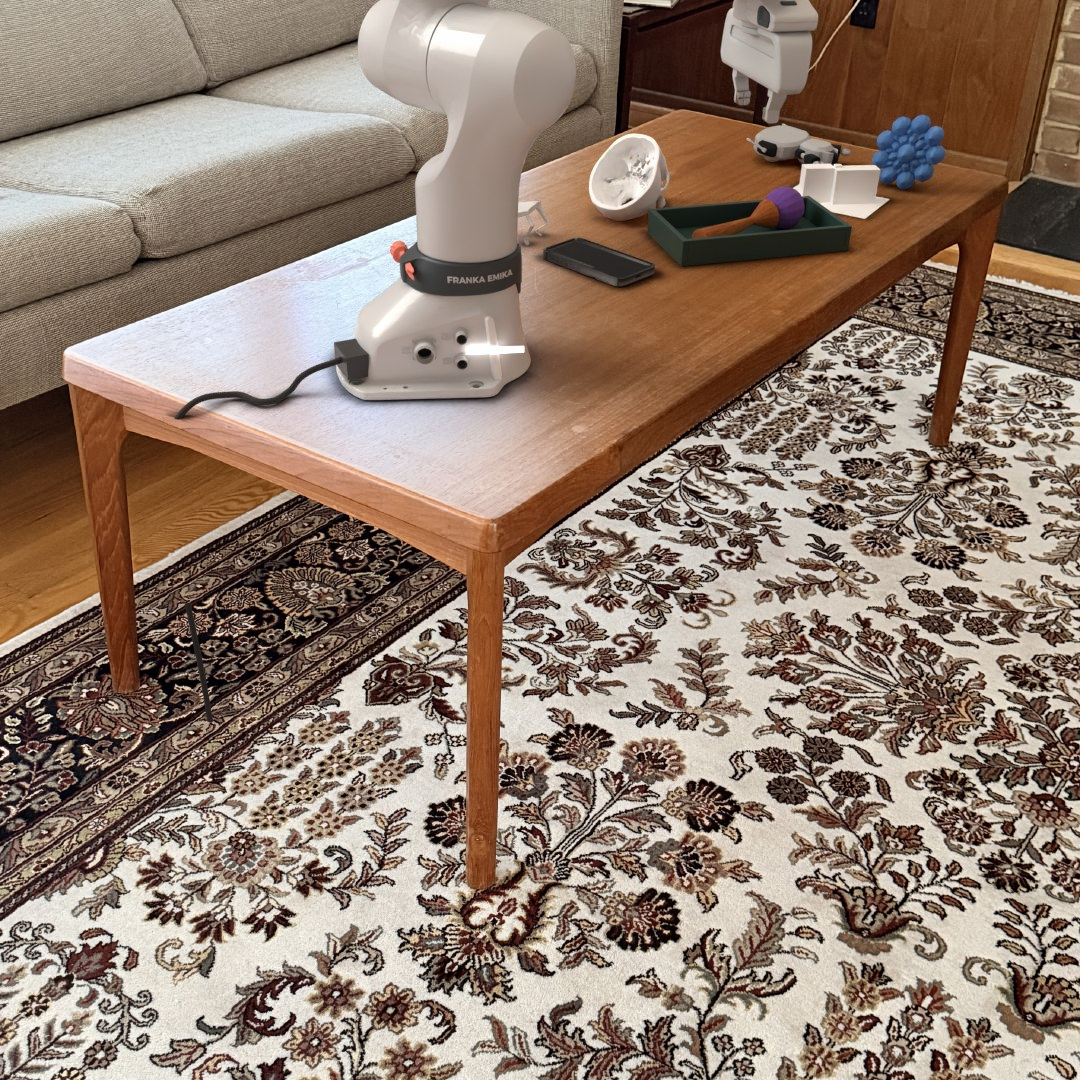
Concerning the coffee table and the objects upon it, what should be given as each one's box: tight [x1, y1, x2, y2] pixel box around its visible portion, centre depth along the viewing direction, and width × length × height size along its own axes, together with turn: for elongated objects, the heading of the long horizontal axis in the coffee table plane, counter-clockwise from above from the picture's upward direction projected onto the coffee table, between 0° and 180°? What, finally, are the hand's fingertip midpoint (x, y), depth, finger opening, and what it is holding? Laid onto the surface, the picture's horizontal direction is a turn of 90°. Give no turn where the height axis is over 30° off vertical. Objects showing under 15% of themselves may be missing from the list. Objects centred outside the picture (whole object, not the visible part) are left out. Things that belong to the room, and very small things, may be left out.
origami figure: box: [518, 200, 551, 246], centre depth 174 cm, size 12×8×5 cm
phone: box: [542, 237, 656, 288], centre depth 168 cm, size 8×1×15 cm
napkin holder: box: [792, 163, 891, 220], centre depth 192 cm, size 15×11×6 cm
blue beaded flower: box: [871, 114, 947, 190], centre depth 196 cm, size 12×7×12 cm, turn 54°
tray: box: [646, 196, 853, 267], centre depth 176 cm, size 26×14×4 cm, turn 106°
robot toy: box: [745, 123, 852, 166], centre depth 208 cm, size 12×4×15 cm
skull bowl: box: [588, 133, 671, 222], centre depth 186 cm, size 10×14×12 cm
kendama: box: [692, 185, 805, 238], centre depth 176 cm, size 6×6×20 cm
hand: (755, 112), depth 168 cm, fingers open, 8 cm apart
